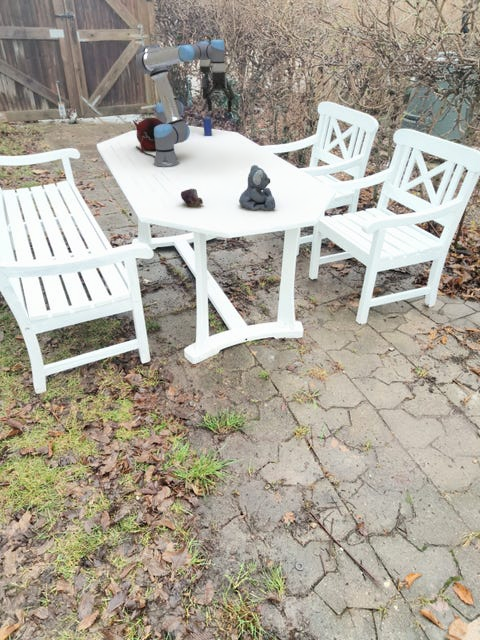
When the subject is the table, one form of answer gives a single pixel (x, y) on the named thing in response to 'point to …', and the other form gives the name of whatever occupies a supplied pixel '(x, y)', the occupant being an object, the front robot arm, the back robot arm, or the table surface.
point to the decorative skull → (147, 133)
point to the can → (207, 127)
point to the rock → (191, 197)
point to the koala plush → (257, 191)
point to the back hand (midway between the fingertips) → (206, 97)
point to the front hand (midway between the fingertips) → (219, 111)
